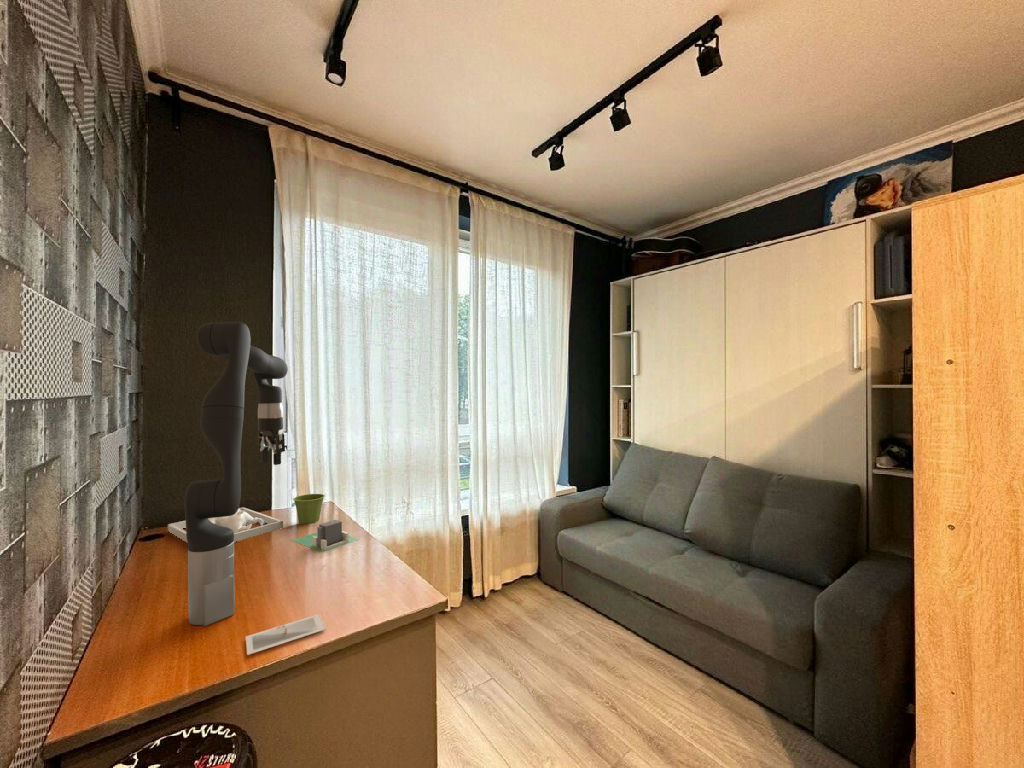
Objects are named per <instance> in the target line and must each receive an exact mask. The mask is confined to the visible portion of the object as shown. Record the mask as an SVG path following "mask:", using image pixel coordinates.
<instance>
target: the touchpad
mask: <svg viewBox="0 0 1024 768" xmlns="http://www.w3.org/2000/svg"><path fill="white" fill-rule="evenodd" d="M324 630H326V627H325V624H324V622H323V619H322V617H321V615H320V613H317V614H315V615H311V616H308V617H305V618H302V619H297V620H295V621H291V622H288V623H285V624H283V625H278V626H274V627H272V628H269V629H266V630H262V631H260V632H256V633H253V634H250V635H245V644H246V655H247V656H249V655H252V654H255V653H258V652H261V651H264V650H267V649H270V648H273V647H276V646H280V645H283V644H286V643H289V642H292V641H294V640H298V639H301V638H303V637H307V636H309V635H312V634H315V633H318V632H322V631H324Z"/></svg>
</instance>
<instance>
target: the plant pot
mask: <svg viewBox="0 0 1024 768" xmlns="http://www.w3.org/2000/svg"><path fill="white" fill-rule="evenodd" d="M325 497H326V494H323V493H309V494H308V493H307V494H302V495H298V496H294V497H293V499H292V500H293V501H294V506H295V508H296V514H297V518H298V524H300V525H309V524H313V523H316V522H317V523H318V522H319V521H320V519H321V514H322V513H321V512H322V507H323V506H322V505H323V502H324V498H325Z"/></svg>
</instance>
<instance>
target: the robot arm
mask: <svg viewBox="0 0 1024 768" xmlns="http://www.w3.org/2000/svg"><path fill="white" fill-rule="evenodd" d="M196 333H197V334H196V341H197V345H198V347H199V348H200V351H202V352H203V353H204V354H205V355H208V356H211V357H215V358H219V359H224V360H226V361H227V362H226V366H225V368H224V371H223V372H222V373H221V375H220V377H219V378H218V379H217V380H216V382H215V383H214V384H213V385H212V386H211V388H210V389H209V390H208V391H207V393H206V394H205V396H204V398H203V399H202V401H201V407H200V416H199V417H200V418H199V428H200V431H201V433H202V435H203V437H204V438H205V440H206V441H207V442H208V444H209V445H210V446H211V447H212V449H213V450H214V452H215V453H216V456H218V459H219V461H220V463H221V467H222V473H223V474H222V475H223V476H222V478H218V479H205V480H196V481H192V482H191V483H190V484H189V485H188V486H187V488H186V490H185V493H184V504H183V505H184V518H185V520H186V529H185V531H186V537H187V542H186V543H187V580H188V581H187V586H188V587H187V594H188V596H187V597H188V599H187V601H188V603H187V604H188V605H187V606H188V623H189V624H190V625H194V626H204V627H206V626H209V625H212V624H214V623H216V622H219V621H221V620H223V619H227V618H228V617H230V616H233V615H235V609H236V604H235V603H236V601H235V599H236V593H235V591H236V590H235V542H234V532H233V530H232V529H230V528H227V527H223V526H219V525H216V524H214V523H212V522H210V521H209V520H208V518H216V517H226V516H232V515H234V514H236V512H237V511H238V509H239V508H240V505H241V498H242V474H241V473H242V472H241V471H242V468H241V467H242V465H241V462H242V460H241V457H242V456H241V453H242V451H241V450H242V437H243V428H244V427H243V426H244V418H245V415H244V413H245V390H246V389H245V388H246V387H245V386H246V378H247V377H246V376H247V370H248V369H249V370H250V371H251V372H252V375H253V376H252V377H254V381H255V384H256V388H257V392H258V394H257V395H258V398H257V399H258V407H257V430H258V431H259V432H257V450H259V451H260V453H261V455H260V457H261V459H260V460H261V463H269V461H270V449H271V451H272V453H273V454H272V459H273V460H272V461H273V462H272V463H273V465H274V466H278V465H282V453H284V452H285V451H286V444H285V443H286V441H285V433H280V432H279V431H281V430H283V429H284V407H283V390H282V388H281V386H277V385H273V384H270V383H269V382H268V380H279V379H283V378H284V377H286V376H287V374H288V372H289V371H288V369H289V368H288V364H287V363H286V361H285V360H284V359H283V358H281V357H279V356H275V355H271V354H268V353H267V352H265V351H264V350H262V349H261V348H258V347H256V346H254V345H251V331H250V329H249V327H248V325H247V324H246V323H244V322H242V321H216V322H214V321H213V322H212V321H211V322H207V323H203V324H202V325H200V326H199V328H198V329H197V332H196ZM185 520H184V521H185Z"/></svg>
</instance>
